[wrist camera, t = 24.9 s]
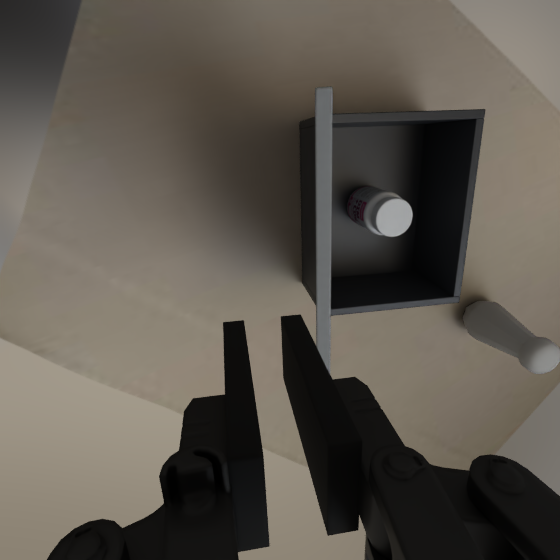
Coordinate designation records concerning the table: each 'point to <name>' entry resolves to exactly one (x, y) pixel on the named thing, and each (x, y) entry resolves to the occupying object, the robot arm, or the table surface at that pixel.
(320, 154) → the grey box lid
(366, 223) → the pill bottle
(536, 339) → the salt shaker
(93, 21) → the table surface
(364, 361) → the table surface
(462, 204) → the box
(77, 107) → the table surface
